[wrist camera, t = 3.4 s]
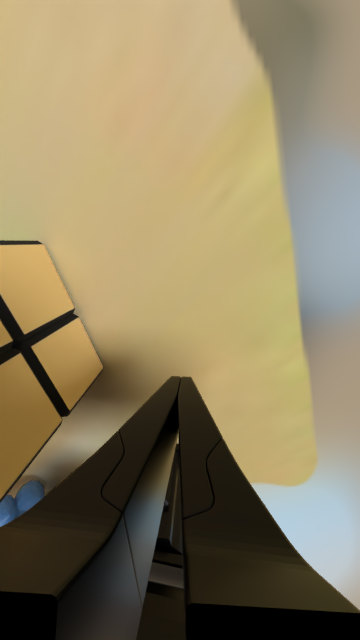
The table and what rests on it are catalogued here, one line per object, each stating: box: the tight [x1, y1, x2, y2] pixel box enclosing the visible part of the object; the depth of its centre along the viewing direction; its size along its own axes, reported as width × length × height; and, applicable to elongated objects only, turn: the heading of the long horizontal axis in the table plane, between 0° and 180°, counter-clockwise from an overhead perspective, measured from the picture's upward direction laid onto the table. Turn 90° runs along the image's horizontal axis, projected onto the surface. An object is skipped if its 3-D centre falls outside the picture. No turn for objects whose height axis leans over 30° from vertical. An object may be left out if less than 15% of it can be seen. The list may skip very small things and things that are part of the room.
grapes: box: [0, 481, 44, 527], centre depth 17 cm, size 12×7×12 cm, turn 27°
